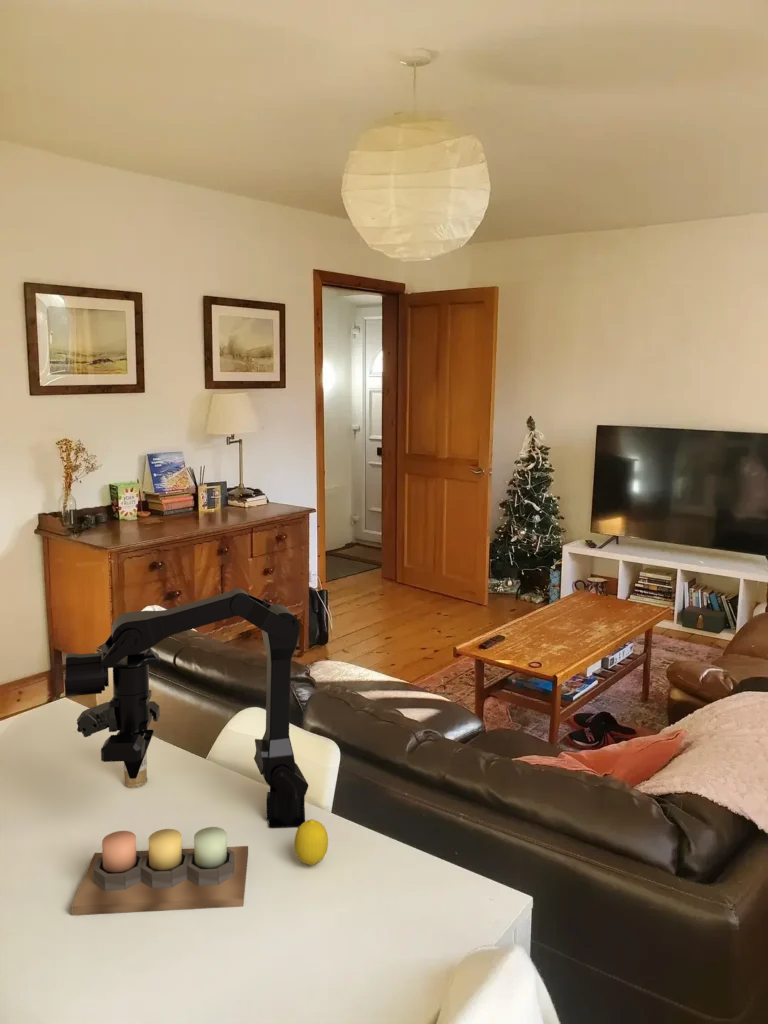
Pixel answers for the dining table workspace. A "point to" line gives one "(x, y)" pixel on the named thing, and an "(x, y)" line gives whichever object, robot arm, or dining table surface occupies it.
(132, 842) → the button terracotta
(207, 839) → the button sage
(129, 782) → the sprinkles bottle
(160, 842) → the button ochre
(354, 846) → the dining table surface
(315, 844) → the lemon
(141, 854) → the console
